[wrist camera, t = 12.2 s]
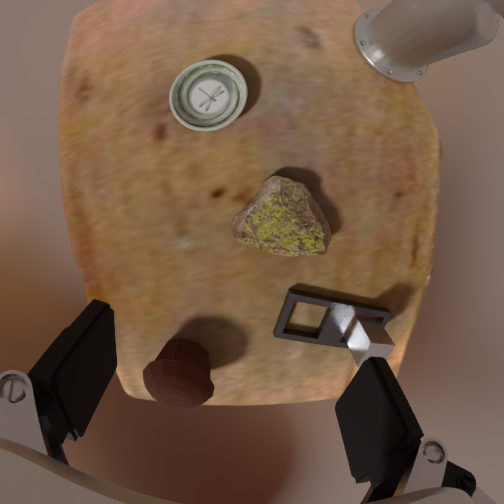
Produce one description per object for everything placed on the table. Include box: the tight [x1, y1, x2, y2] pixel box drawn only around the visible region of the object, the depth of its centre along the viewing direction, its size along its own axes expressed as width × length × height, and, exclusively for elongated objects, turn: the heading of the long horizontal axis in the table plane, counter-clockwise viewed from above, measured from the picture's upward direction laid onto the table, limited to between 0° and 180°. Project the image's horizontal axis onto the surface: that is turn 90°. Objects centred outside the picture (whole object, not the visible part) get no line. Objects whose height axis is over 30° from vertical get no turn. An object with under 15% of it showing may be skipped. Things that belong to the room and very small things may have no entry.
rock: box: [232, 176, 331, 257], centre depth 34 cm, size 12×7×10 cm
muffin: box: [143, 339, 214, 409], centre depth 40 cm, size 12×11×10 cm
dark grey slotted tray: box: [273, 288, 392, 348], centre depth 41 cm, size 8×18×2 cm, turn 76°
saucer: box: [169, 60, 248, 132], centre depth 29 cm, size 10×10×2 cm
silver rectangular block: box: [344, 313, 395, 367], centre depth 38 cm, size 4×4×8 cm
